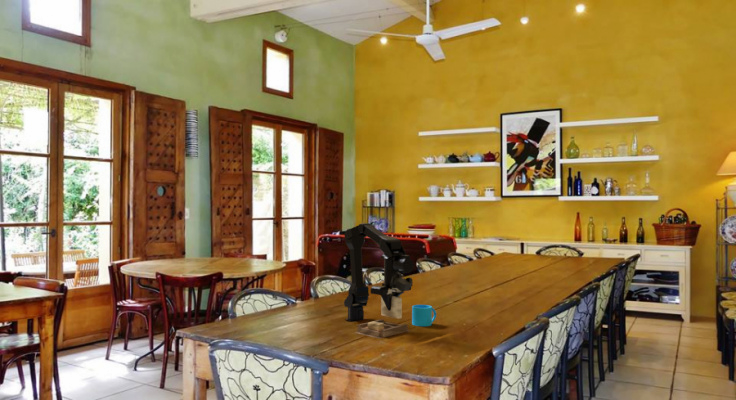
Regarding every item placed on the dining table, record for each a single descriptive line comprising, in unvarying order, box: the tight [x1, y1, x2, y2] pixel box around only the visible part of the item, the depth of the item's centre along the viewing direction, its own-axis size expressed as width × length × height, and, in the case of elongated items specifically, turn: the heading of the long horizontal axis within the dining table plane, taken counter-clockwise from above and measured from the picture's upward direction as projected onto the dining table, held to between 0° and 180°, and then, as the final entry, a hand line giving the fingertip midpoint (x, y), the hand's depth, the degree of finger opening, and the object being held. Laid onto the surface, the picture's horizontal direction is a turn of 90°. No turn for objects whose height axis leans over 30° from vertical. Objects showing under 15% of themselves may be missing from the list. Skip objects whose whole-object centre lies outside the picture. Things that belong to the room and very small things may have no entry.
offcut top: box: [367, 320, 384, 330], centre depth 206 cm, size 5×4×2 cm
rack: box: [354, 319, 410, 339], centre depth 209 cm, size 14×18×3 cm
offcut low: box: [365, 327, 384, 335], centre depth 206 cm, size 7×4×2 cm, turn 47°
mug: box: [411, 304, 437, 327], centre depth 224 cm, size 12×8×8 cm
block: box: [380, 296, 403, 320], centre depth 213 cm, size 9×2×8 cm, turn 47°
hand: (391, 310), depth 213 cm, fingers closed on block, 2 cm apart
